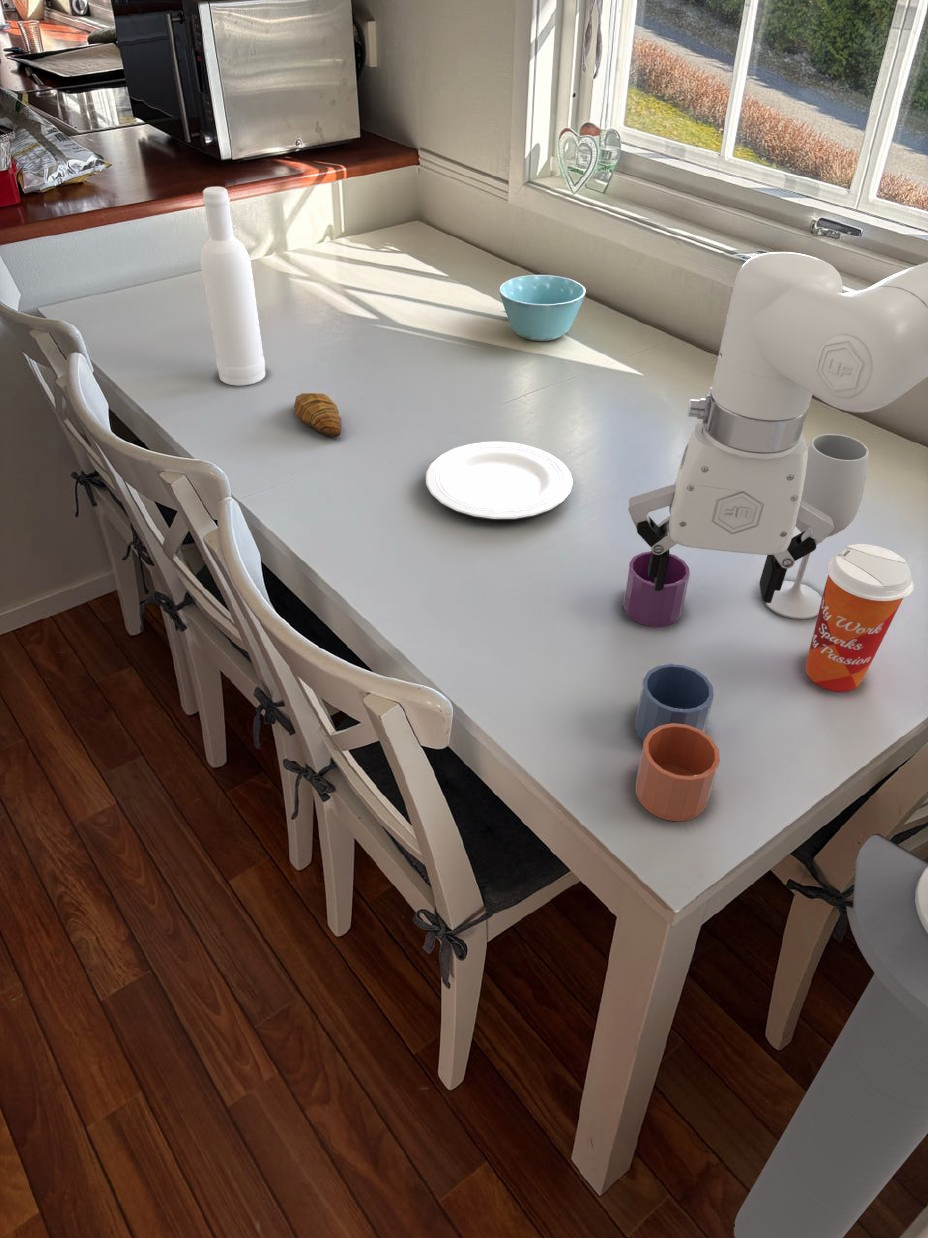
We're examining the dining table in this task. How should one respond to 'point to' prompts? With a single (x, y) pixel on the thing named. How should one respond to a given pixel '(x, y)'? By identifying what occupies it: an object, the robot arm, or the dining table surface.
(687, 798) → the terracotta cup
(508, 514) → the plate
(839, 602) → the coffee cup
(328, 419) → the croissant
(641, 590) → the plum cup
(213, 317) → the bottle
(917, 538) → the dining table surface
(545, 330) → the bowl
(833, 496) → the wineglass
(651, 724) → the blue faceted cup
